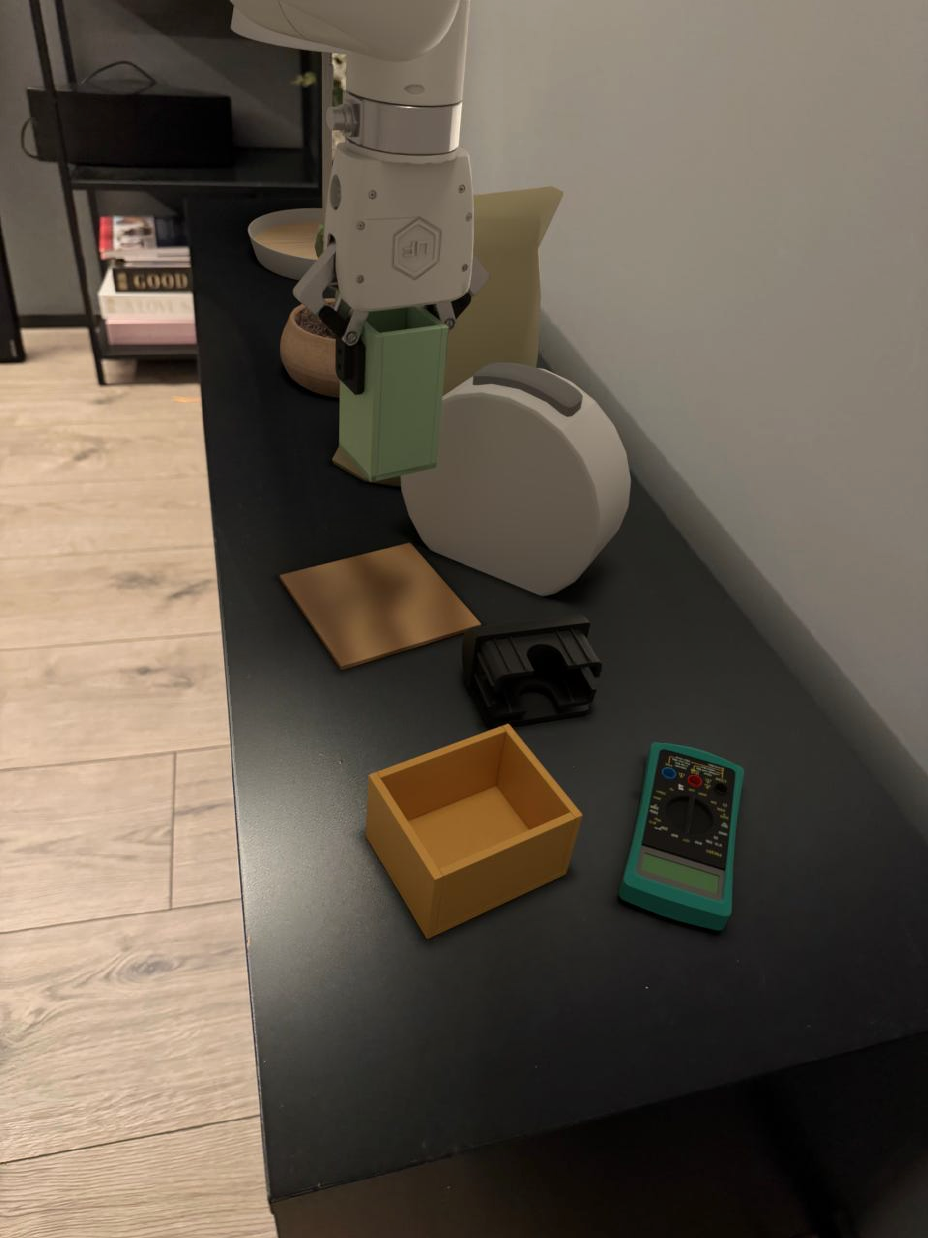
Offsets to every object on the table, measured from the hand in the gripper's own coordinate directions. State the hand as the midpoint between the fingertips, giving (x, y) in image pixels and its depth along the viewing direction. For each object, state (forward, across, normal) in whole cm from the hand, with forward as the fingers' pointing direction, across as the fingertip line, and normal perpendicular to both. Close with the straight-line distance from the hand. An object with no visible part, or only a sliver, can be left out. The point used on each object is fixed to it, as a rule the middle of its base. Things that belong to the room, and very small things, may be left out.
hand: (391, 378), depth 72 cm
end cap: (+23, +6, -16) cm, 28 cm away
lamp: (+23, +34, +87) cm, 96 cm away
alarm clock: (+23, +15, +2) cm, 27 cm away
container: (+23, +18, +22) cm, 36 cm away
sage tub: (+7, 0, 0) cm, 7 cm away
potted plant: (+23, +20, +44) cm, 53 cm away
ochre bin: (+22, -7, -28) cm, 37 cm away
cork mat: (+23, 0, 0) cm, 23 cm away
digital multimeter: (+23, +8, -34) cm, 42 cm away
